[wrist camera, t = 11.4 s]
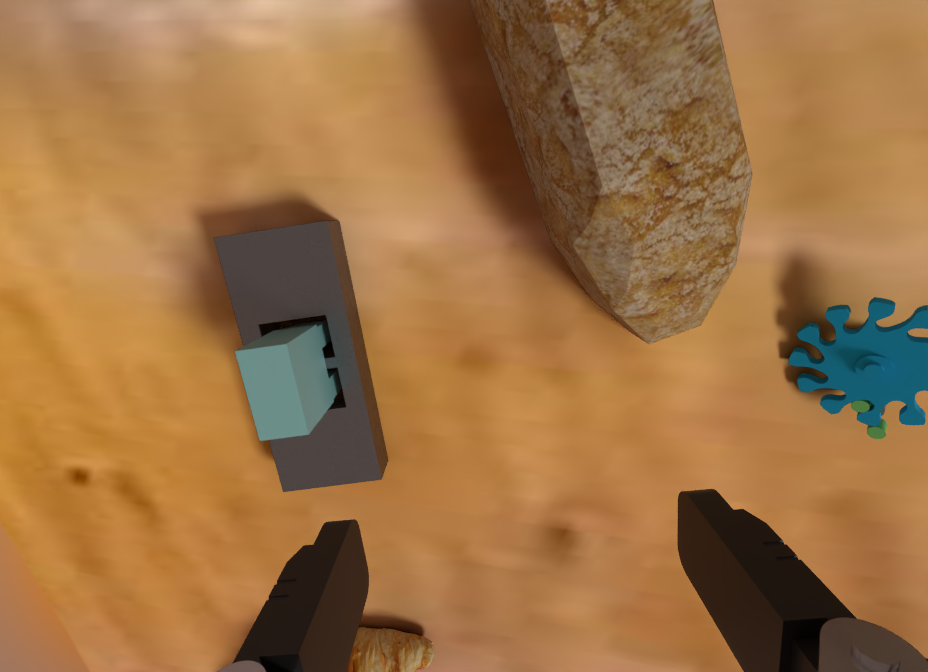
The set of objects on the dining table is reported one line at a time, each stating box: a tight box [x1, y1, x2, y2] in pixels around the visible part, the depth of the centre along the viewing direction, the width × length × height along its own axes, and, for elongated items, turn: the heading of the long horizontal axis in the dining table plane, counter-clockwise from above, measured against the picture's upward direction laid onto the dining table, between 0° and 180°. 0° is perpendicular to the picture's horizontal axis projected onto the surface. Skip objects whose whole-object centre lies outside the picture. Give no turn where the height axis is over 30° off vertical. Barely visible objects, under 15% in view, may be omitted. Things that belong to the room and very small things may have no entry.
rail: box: [214, 221, 388, 492], centre depth 34 cm, size 20×8×3 cm, turn 8°
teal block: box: [235, 320, 342, 441], centre depth 31 cm, size 6×3×8 cm, turn 8°
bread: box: [469, 0, 752, 344], centre depth 26 cm, size 36×11×10 cm, turn 22°
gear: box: [788, 297, 928, 439], centre depth 33 cm, size 11×6×10 cm
